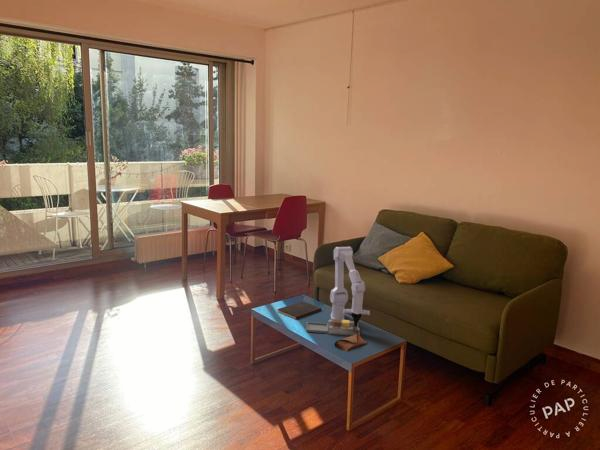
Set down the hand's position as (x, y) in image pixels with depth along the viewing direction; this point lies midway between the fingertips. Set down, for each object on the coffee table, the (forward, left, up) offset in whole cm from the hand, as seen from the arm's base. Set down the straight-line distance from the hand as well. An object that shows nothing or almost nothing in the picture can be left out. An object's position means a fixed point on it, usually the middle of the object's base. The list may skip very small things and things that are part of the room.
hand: (355, 326), depth 264 cm
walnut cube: (0, -11, -2) cm, 11 cm away
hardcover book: (-25, -32, -4) cm, 41 cm away
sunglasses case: (+18, -3, -4) cm, 19 cm away
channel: (0, -7, -3) cm, 7 cm away
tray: (0, -21, -3) cm, 22 cm away
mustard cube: (0, -6, -2) cm, 6 cm away
